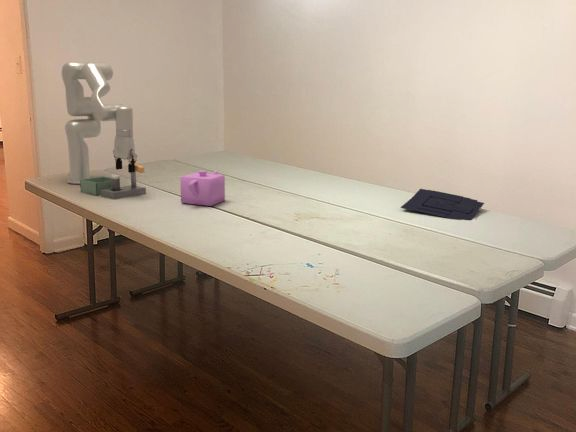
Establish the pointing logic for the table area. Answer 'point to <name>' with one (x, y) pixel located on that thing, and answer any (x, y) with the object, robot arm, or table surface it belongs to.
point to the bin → (95, 185)
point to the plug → (115, 182)
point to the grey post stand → (125, 190)
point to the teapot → (202, 188)
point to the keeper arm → (139, 168)
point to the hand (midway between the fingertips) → (125, 170)
